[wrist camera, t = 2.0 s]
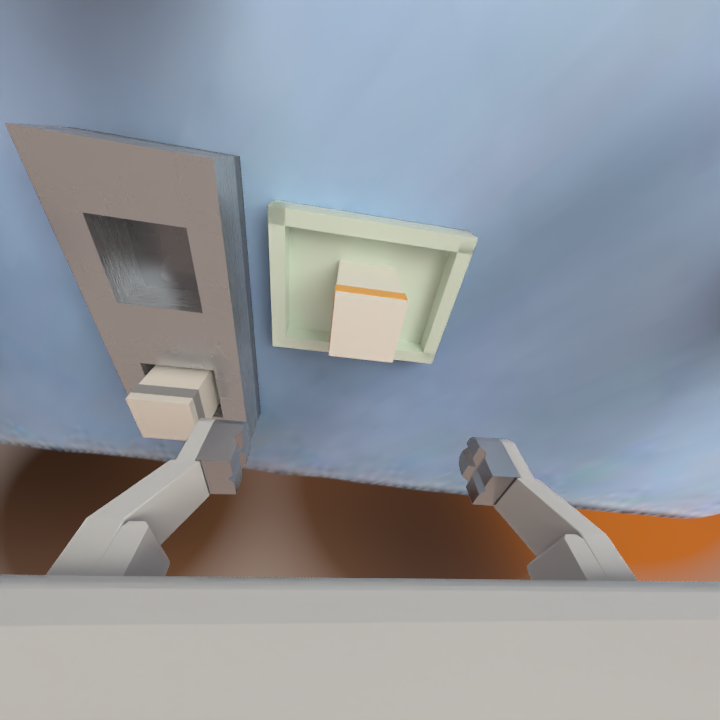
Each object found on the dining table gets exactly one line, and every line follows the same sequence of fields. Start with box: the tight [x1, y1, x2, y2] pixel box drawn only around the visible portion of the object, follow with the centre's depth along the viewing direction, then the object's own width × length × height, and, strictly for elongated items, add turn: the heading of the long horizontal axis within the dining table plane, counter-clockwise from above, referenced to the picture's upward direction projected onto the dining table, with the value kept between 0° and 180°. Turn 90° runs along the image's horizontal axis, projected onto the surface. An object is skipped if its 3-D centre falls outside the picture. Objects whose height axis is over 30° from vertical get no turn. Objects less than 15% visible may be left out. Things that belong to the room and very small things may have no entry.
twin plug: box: [125, 365, 220, 441], centre depth 23 cm, size 4×4×6 cm
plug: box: [329, 260, 408, 363], centre depth 19 cm, size 4×4×6 cm
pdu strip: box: [5, 123, 261, 441], centre depth 21 cm, size 9×22×4 cm, turn 172°
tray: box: [267, 200, 478, 364], centre depth 21 cm, size 13×10×2 cm
